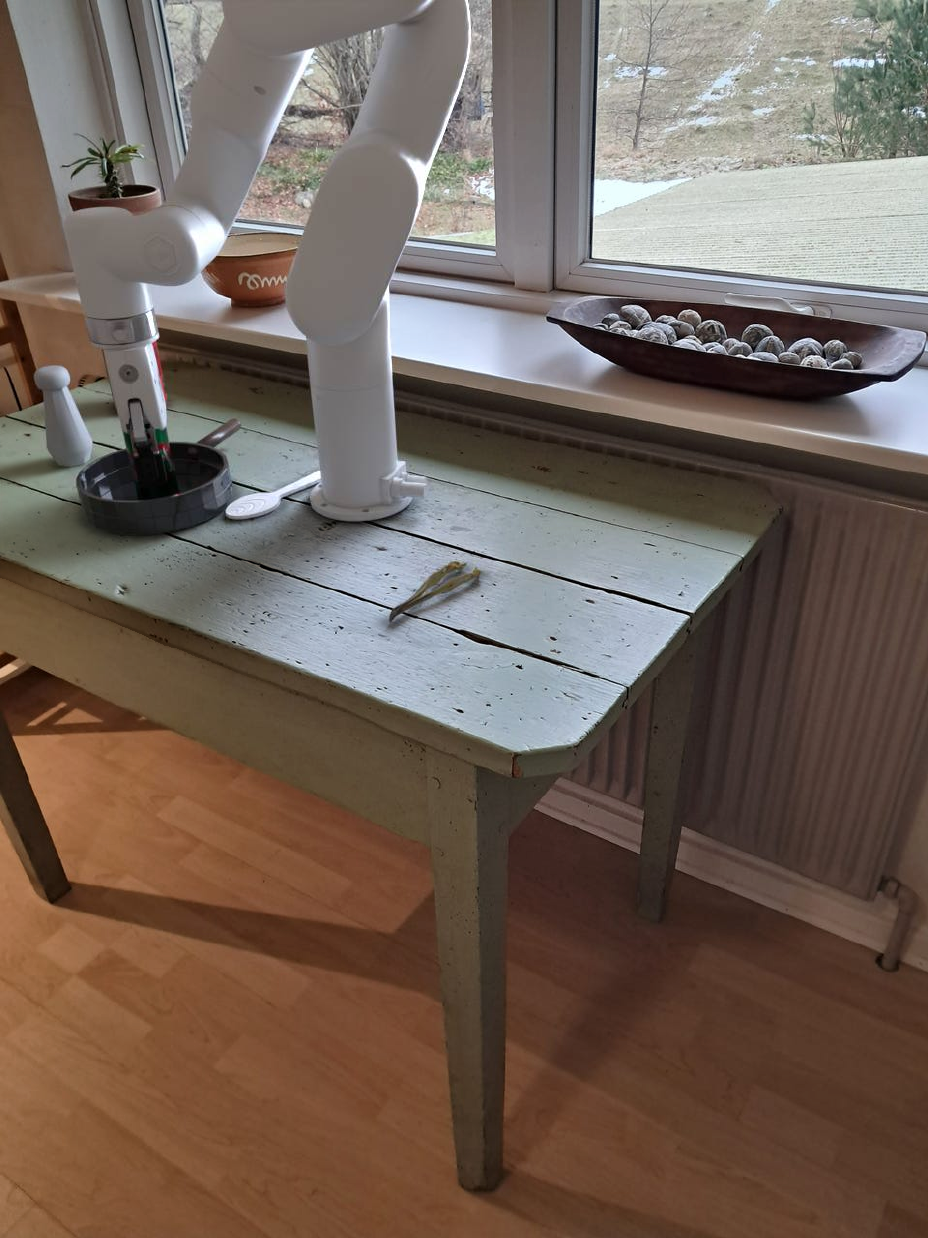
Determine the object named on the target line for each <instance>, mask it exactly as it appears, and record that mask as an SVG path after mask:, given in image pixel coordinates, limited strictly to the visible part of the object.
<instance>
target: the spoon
mask: <svg viewBox="0 0 928 1238" xmlns="http://www.w3.org/2000/svg"><path fill="white" fill-rule="evenodd" d="M320 482H321V476H320V469H319V470H317V471H314V472H311V474H308V475H306V476H304V477H301V478H300V479H298V480H295V482H293V481H292V483H290V484H287V485H285V486H284V487H282V488H278V489H277V490H275V491H274V490H273V491H269V492H268V491H265V492H264V491H263V492H260V491H259V492H254V493H249V494H247V495H243V496H241V497H239V498H237V499H235V500H234V501H231V502H230V503H229V504H228V506H227V507H226V509H225V516H226V517H227V518H228V519H230V520H231V519H232V520H246V519H247V520H248V519H252V518H257V517H261V516H264V515H267V514H268V513H271V512H274V511H275V510H276V509H278V508H279V506H280V505H281V499H283V498H284V497H288V496H289V495H292V494H294V493H295V494H296V493H297V492H299V491H301V490H305V489H307V488H309V487H311V486H314V485H317V484H319V483H320Z"/></svg>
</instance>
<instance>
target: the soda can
mask: <svg viewBox="0 0 928 1238" xmlns="http://www.w3.org/2000/svg"><path fill="white" fill-rule="evenodd" d="M141 404H142V403H141ZM142 411H143V407H142ZM144 425H145V429H149V428H150V424H144ZM120 427H121V426H120ZM121 432H122V437H123V440H124V441H123V442H124V446H125V448H126V450H127V454H128V459H129V463H130V467H131V472H132V476H133V480H134V485H135V489H136V494H137V498H138V500H151V499H157V498H163V497H169V496H173V495H176V494H180V493H179V488H178V483H177V478H176V473H175V468H174V463H173V458H172V453H171V448H170V443H169V442H170V438H169V434H168V429H167V426H166V427H165V429H164V430H160V429H155V434H156V440H157V446H158V451H159V452H161V454H162V459H163V463H164V468H165V473H166V478H167V484H166V485H162V486H154V487H146V488H141V487H140V486H139V481H138V477H137V472H136V468H135V464H134V459H133V455H134V453H133V447H132V442H131V437H130V432H129V434H127V433H125V432H124V431H123V430H122V427H121ZM146 436H147V439H150V440H151V436H150V434H146Z"/></svg>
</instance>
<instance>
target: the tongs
mask: <svg viewBox="0 0 928 1238" xmlns="http://www.w3.org/2000/svg"><path fill="white" fill-rule="evenodd" d="M467 565H468V563H467V562H464V563H461V561H458V560H453V561H452V560H451V561H450V562H449V563H448V564H447V565H444V566H443V567H441V568H440V569H438V570H436V571H434V572H433V573H432V574H431V575H429V577H427V578H426V580H425V581H424V582H423V583H422V584H421V585H420V587H419V588H418V589H417V591H415V593H414V594H412V595H411V596H410V597H409V598H407V600H406V601H404V602H402V603H400V604H398V605H396V606H395V607H393V609H391V611H390V613H389V617H388V621H389V624H392V623H393V621H394V620H395V618H396V617H398V616H399V615H402V614H403V613H405V612H406V611H408V610H410V609H411V608H413V607H416V606H417V605H420V604H422V603H424V602H426V601H429V600H430V599H432V598H433V597H435V596H437V595H440V594H443V593H445V592H446V593H447V592H451V591H453V590H455V589H457V588H458V587H460V586H462V585H464V584H466V583H468V582H470V581H471V580H473V579H475V578H480V576H481V575H482V574H483V573H484V571H483V570H482V569H479V568H478V567H477V566H474V569H473V571H472V572H466V573H464V574H462V575H460V576H456V577H453V578H450V580H447V581H446V582H445V583H443V584H441V585H440V586H438V587H437V588H435V589H433V590H431V591H428V592H426V591H427V590H429V589H430V588H432V587H435V586H437V585H438V584H439V583H440V582H441V580H442V579H443V578H444V577H446V576H447V575H449V574H450V573H453V572H455V571H462V570H463V569H465V568H466V567H467ZM425 592H426V593H425Z"/></svg>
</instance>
